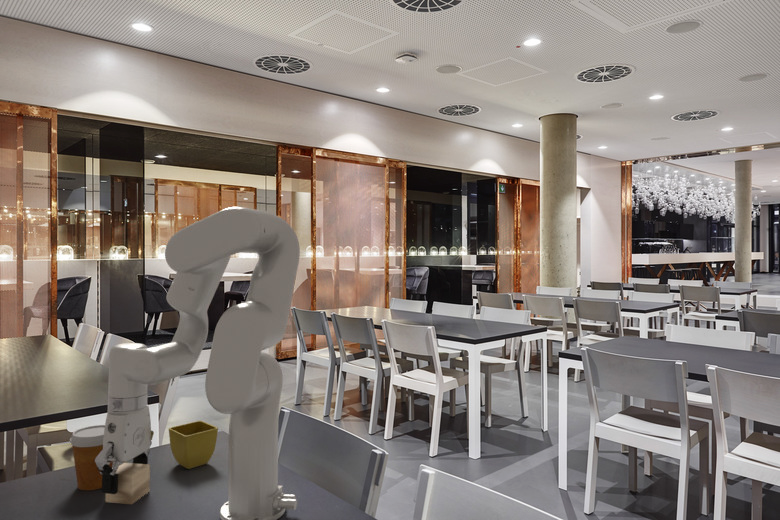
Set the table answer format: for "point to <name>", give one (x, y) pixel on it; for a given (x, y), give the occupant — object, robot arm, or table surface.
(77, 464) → the disposable coffee cup
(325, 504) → the table surface
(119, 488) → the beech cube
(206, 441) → the flower pot
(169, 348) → the robot arm
